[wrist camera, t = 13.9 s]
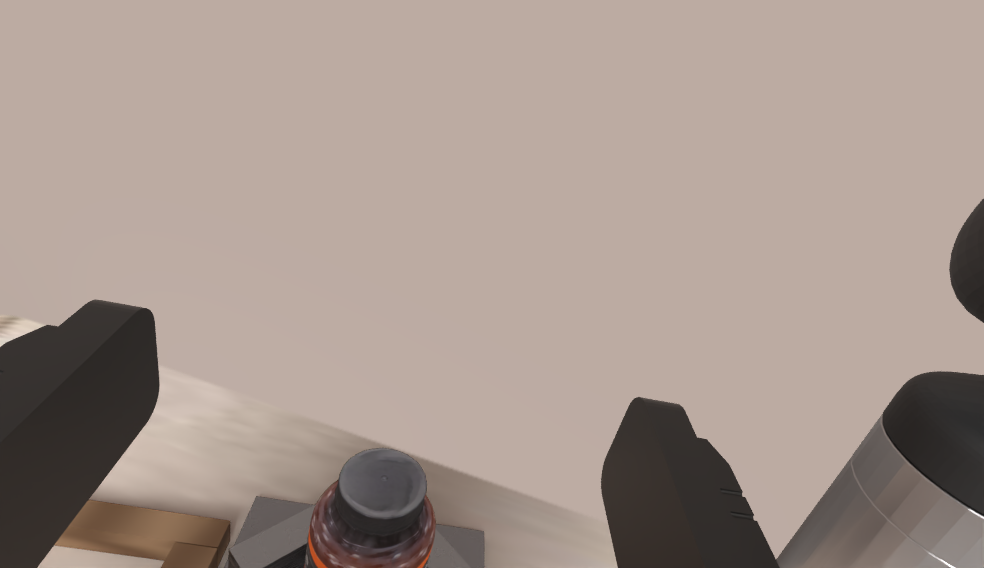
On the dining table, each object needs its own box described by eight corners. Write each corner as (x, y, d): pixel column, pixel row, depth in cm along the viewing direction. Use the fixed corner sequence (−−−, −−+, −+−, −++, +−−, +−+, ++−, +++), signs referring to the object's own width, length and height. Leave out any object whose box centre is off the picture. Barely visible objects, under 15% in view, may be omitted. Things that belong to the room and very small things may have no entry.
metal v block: (482, 536, 38) (493, 505, 37) (481, 682, 30) (495, 649, 29) (256, 501, 36) (258, 467, 35) (191, 647, 28) (190, 610, 27)
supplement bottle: (288, 586, 31) (306, 437, 26) (391, 562, 34) (425, 423, 29) (303, 701, 27) (328, 548, 22) (421, 663, 30) (467, 518, 24)
